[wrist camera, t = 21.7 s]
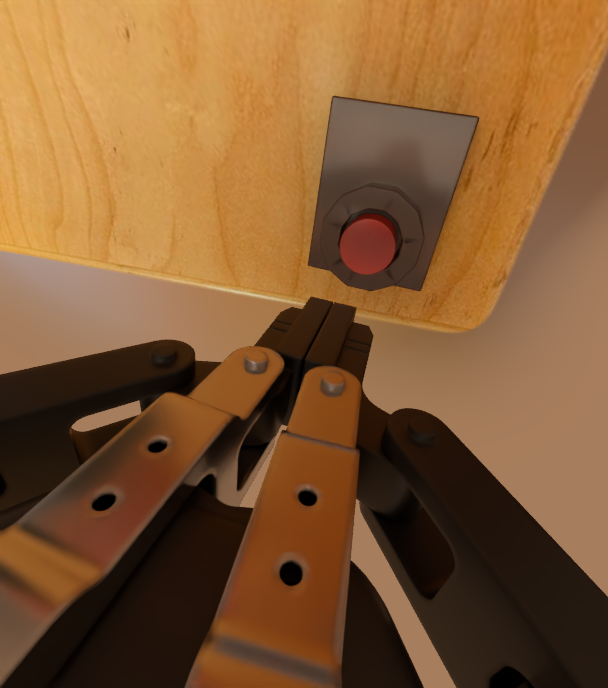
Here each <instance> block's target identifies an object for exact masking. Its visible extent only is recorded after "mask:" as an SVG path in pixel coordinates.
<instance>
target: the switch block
mask: <svg viewBox="0 0 608 688" xmlns="http://www.w3.org/2000/svg"><path fill="white" fill-rule="evenodd" d="M478 121H479V117H477V116H470V115H463V114H456V113H449V112H442V111H435V110H429V109H422V108H415V107H408V106H401V105H394V104H387V103H380V102H373V101H366V100H360V99H353V98H346V97H339V96H333V97H332V102H331V108H330V115H329V122H328V129H327V136H326V143H325V150H324V157H323V164H322V171H321V178H320V185H319V191H318V198H317V205H316V212H315V219H314V226H313V233H312V240H311V247H310V254H309V261H308V266H312V267H316V268H320V269H325V270H329V271H331V272H332V273H333V274H334V275H335V276H337V277H338V278H339V279H340V280H341V281H342V282H343V283H344V284H346V285H347V286H351V287H355V288H359V289H364V290H368V291H374V290H378V289H381V288H385V287H389V286H393V285H394V286H399V287H403V288H408V289H412V290H416V291H421V289H422V286H423V283H424V280H425V277H426V274H427V271H428V269H429V266H430V263H431V260H432V257H433V254H434V251H435V248H436V245H437V242H438V239H439V236H440V233H441V230H442V227H443V224H444V221H445V218H446V215H447V213H448V210H449V207H450V204H451V201H452V198H453V195H454V192H455V189H456V186H457V183H458V180H459V177H460V174H461V171H462V168H463V165H464V162H465V160H466V157H467V154H468V151H469V148H470V145H471V142H472V139H473V136H474V133H475V130H476V127H477V124H478ZM369 213H373V214H379V215H382V216H384V217H385V218H387V219H388V220H389V221H390V222H391V223H392V224H393V226H394V228H395V230H396V233H397V245H396V250H395V254H394V257H393V259H392V261H391V262H390V264H389V265H388V266H387V267H386V268H385V269H383V270H382V271H380V272H378V273H375V274H370V275H364V274H359V273H356V272H354V271H353V270H351V269H350V268H348V267H347V265H346V264H345V263H344V261H343V260H342V257H341V254H340V240H341V237H342V235H343V233H344V231H345V230H346V229H347V227H348V226H349V225H350V224H351V222H352V221H353V220H355V219H356V218H357V217H359V216H361V215H364V214H369Z"/></svg>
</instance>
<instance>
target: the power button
mask: <svg viewBox="0 0 608 688" xmlns="http://www.w3.org/2000/svg"><path fill="white" fill-rule="evenodd" d="M396 245H397V233H396V230H395V228H394V226H393V224H392V223H391V222H390V221H389V220H388V219H387V218H385V217H384V216H382V215H379V214H373V213H369V214H364V215H361V216H359V217H357V218H356V219H355V220H353V221H352V222H351V224H350V225H349V226H348V227H347V229H346V230H345V231H344V233H343V235H342V237H341V240H340V254H341V257H342V260H343V261H344V263H345V264H346V265H347V267H348V268H350V269H351V270H353V271H354V272H356V273H359V274H364V275H370V274H375V273H378V272H380V271H382V270H383V269H385V268H386V267H387V266H388V265H389V264H390V262H391V261H392V259H393V257H394V254H395V250H396Z"/></svg>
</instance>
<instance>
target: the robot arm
mask: <svg viewBox="0 0 608 688" xmlns="http://www.w3.org/2000/svg"><path fill="white" fill-rule="evenodd" d="M355 313H356V307H352V306H348V305H344V304H340V303H336V302H334V304H333V302H332V301H327V300H323V299H319V298H315V297H310V299H309V300H308V302H307V303H306V305H305V306H304V308H303V309H298V308H294V307H291V308H289V309H286V310H284V311H282V312H281V313H280V314H279V315H278V316H277V318H276V319H275V321H274V322H273V323H272V324H271V325H270V327H269V328H268V329H267V330H266V331H265V333H264V334H263V335H262V337H261V338H260V339H259V340H258V342H257V343H256V344H255V346H249V347H244V348H240V349H237V350H235V351H234V352H232V353H231V354H230V355H229V356H228V357H227V358H226V359H225V360H224V361H223V362H208V361H195V352H194V349H193V348H192V347H191V346H190V345H188V344H186V343H184V342H181V341H177V340H159V341H153V342H149V343H144V344H140V345H135V346H130V347H126V348H121V349H116V350H112V351H107V352H103V353H98V354H93V355H89V356H84V357H79V358H75V359H70V360H66V361H61V362H56V363H52V364H47V365H43V366H38V367H33V368H29V369H24V370H20V371H15V372H10V373H6V374H1V375H0V688H424V687H423V685H422V683H421V681H420V678H419V676H418V674H417V672H416V670H415V667H414V665H413V663H412V661H411V659H410V657H409V654H408V652H407V650H406V648H405V646H404V644H403V642H402V639H401V637H400V635H399V633H398V630H397V629H396V626H395V624H394V622H393V620H392V618H391V615H390V613H389V611H388V609H387V607H386V605H385V603H384V602H383V600H382V598H381V597H380V595H379V594H378V592H377V591H376V589H375V587H374V586H373V585H372V583H371V582H370V581H369V579H368V578H367V577H366V575H365V574H364V573H363V572H362V571H361V570H360V569H359V568H358V567H357V566H356V565H355V563H353V562H352V561H351V560H350V559H351V549H352V538H353V526H354V515H355V504H356V499H358V500H359V501H360V502H359V504H360V510H361V513H362V515H363V517H364V519H365V521H366V522H367V524H368V526H369V528H370V530H371V532H372V534H373V535H374V537H375V539H376V541H377V543H378V545H379V546H380V548H381V550H382V552H383V554H384V556H385V557H386V559H387V561H388V563H389V565H390V566H391V568H392V570H393V572H394V574H395V576H396V578H397V579H398V581H399V583H400V585H401V587H402V589H403V590H404V592H405V594H406V596H407V598H408V599H409V601H410V603H411V605H412V607H413V609H414V610H415V612H416V614H417V616H418V618H419V620H420V622H421V623H422V625H423V627H424V629H425V631H426V632H427V634H428V636H429V638H430V640H431V641H432V644H433V645H434V647H435V649H436V651H437V652H438V654H439V656H440V658H441V660H442V662H443V664H444V666H445V667H446V669H447V671H448V673H449V675H450V677H451V678H452V680H453V682H454V684H455V686H456V687H457V688H608V597H607V596H606V594H605V593H604V592H603V591H602V590H601V589H600V588H599V587H598V586H597V585H596V584H595V583H594V582H593V581H592V580H591V579H590V578H589V576H588V575H587V574H586V573H585V572H584V571H583V570H582V569H581V568H580V567H579V566H578V565H577V564H576V563H575V562H574V561H573V560H572V558H571V557H570V556H569V555H568V554H567V553H566V552H565V551H564V550H563V549H562V548H561V547H560V546H559V545H558V544H557V542H556V541H555V540H554V539H553V538H552V537H551V536H550V535H549V534H548V533H547V532H546V531H545V530H544V529H543V528H542V527H541V525H540V524H539V523H538V522H537V521H536V520H535V519H534V518H533V517H532V516H531V515H530V514H529V513H528V512H527V511H526V510H525V509H524V508H523V506H522V505H521V504H520V503H519V502H518V501H517V500H516V499H515V498H514V497H513V496H512V495H511V494H510V493H509V492H508V490H506V488H505V487H504V486H503V485H502V484H501V483H500V482H499V481H498V480H497V479H496V478H495V477H494V476H493V475H492V473H491V472H490V471H489V470H488V469H487V468H486V467H485V466H484V465H483V464H482V463H481V462H480V461H479V460H478V459H477V458H476V456H474V454H473V453H472V452H471V451H470V450H469V449H468V448H467V447H466V446H465V445H464V444H463V443H462V442H461V441H460V440H459V438H458V437H457V436H456V435H455V434H454V433H453V432H452V431H451V430H450V429H449V428H448V427H447V426H446V425H445V424H444V423H443V422H442V421H441V420H439V419H438V418H437V417H435V416H433V415H432V414H429V413H427V412H425V411H422V410H418V409H412V408H411V409H410V408H405V409H400V410H397V411H395V412H393V413H392V414H391V415H390V414H388V413H387V412H385V411H383V410H381V409H380V408H378V407H377V406H375V405H374V404H373V403H371V402H370V401H369V400H368V398H367V397H366V395H365V394H364V392H363V389H362V382H363V378H364V374H365V369H366V365H367V361H368V356H369V352H370V348H371V343H372V339H373V334H372V332H371V330H370V328H369V326H366V325H363V324H358V323H354V322H353V321H354V317H355ZM138 400H140V406H141V412H142V413H141V414H140V415H137V416H134V417H131V418H128V419H124V420H122V421H118V422H115V423H112V424H109V425H106V426H103V427H100V428H96V429H93V430H90V431H86V432H79V431H75V430H74V429H72V428H71V426H72V425H73V424H74V423H75V422H76V421H77V420H79V419H81V418H83V417H85V416H88V415H91V414H95V413H98V412H102V411H105V410H108V409H111V408H115V407H118V406H122V405H125V404H128V403H132V402H135V401H138ZM282 424H283V425H286V426H287V429H286V431H285V430H282V432H281V434H280V436H279V439H278V441H277V444H276V447H275V450H274V452H273V455H272V458H271V461H270V464H269V467H268V469H267V472H266V475H265V478H264V481H263V483H262V486H261V489H260V492H259V495H258V498H257V500H256V503H255V506H254V508H246V507H239V505H240V503H241V501H242V499H243V497H244V496H245V494H246V492H247V491H248V489H249V487H250V485H251V484H252V482H253V480H254V479H255V477H256V475H257V473H258V472H259V470H260V468H261V467H262V465H263V463H264V462H265V460H266V458H267V457H268V455H269V453H270V451H271V450H272V448H273V446H274V442H275V436H276V434H277V433H278V431H279V428H280V426H281V425H282Z"/></svg>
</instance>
